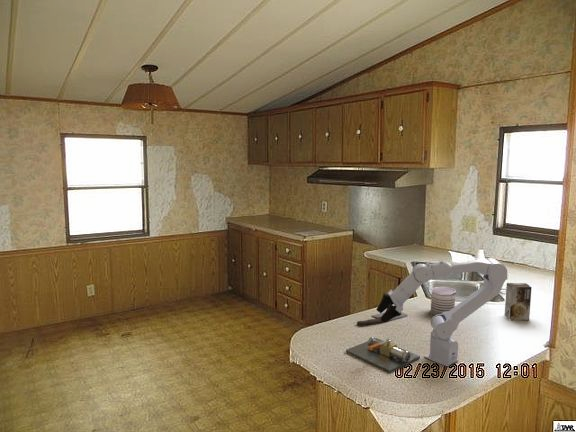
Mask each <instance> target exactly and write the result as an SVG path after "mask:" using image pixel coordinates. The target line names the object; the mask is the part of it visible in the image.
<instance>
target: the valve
mask: <svg viewBox="0 0 576 432" xmlns="http://www.w3.org/2000/svg"><path fill="white" fill-rule="evenodd" d="M383 341H384V340H382V339H379V338H377V337H375V336H370V337H369V338H368V340H367V341H365V342H362V343H359V344H357V345H354V346H352V347H349V348H347V349H346V350H345V353H346V352H347V354H348V353H349V355H350V354H351V356H353V357H355V358H356V359H359V360H360V361H362V362H366V363H367V364H369V365H371V366H374V367H376V368H378V369H379V370H382V371H384V372H386V373H387V374H391V373H393V372H396V371H398V370H400V369H402V368H404V367H406V366H408V365H410V364H412V363H414V362H416V361H418V360H420V359H421V356H420V355H418V354H417V353H416V354H415V353H413V352H411V351H408V350H406V349H404V348H401V347H398V344H396V343H394V342H391V343H387V344H385V345H383V346H381V347H380V348H378V349H375V350H373V351H372V350H369V346H371V345H374V344H376V343H381V342H383Z"/></svg>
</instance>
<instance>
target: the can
mask: <svg viewBox="0 0 576 432" xmlns="http://www.w3.org/2000/svg"><path fill="white" fill-rule="evenodd" d="M430 290H431V299H430V314H431V315H433V316H434V315H439V314H442V313H443V312H445V311H450V310H451V309H453V308H454V307H455V305H456V304H455V303H456V293H457V290H456V289H455V288H453V287H448V286H435V287H433V288H431V289H430Z"/></svg>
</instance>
